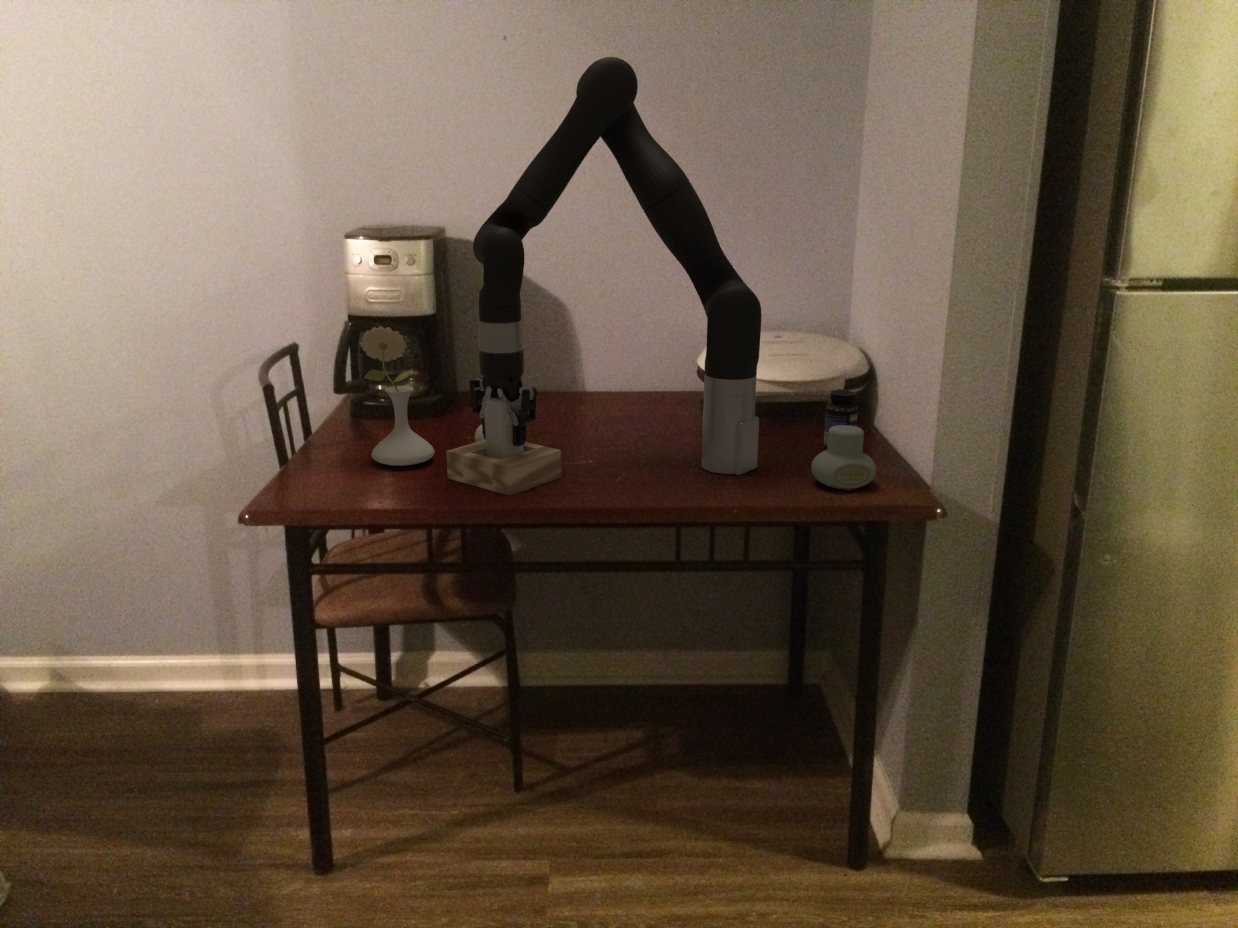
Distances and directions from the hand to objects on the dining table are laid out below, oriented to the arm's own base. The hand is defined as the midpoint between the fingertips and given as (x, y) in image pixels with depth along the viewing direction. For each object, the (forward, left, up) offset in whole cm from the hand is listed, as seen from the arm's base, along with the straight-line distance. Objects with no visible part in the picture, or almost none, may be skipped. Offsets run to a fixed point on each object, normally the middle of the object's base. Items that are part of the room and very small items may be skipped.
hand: (504, 441), depth 177 cm
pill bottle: (-37, -55, -7) cm, 67 cm away
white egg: (+15, -10, -7) cm, 19 cm away
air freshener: (-48, -34, -7) cm, 59 cm away
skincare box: (0, 0, -4) cm, 4 cm away
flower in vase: (+22, +5, -7) cm, 24 cm away
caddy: (0, 0, -7) cm, 7 cm away
